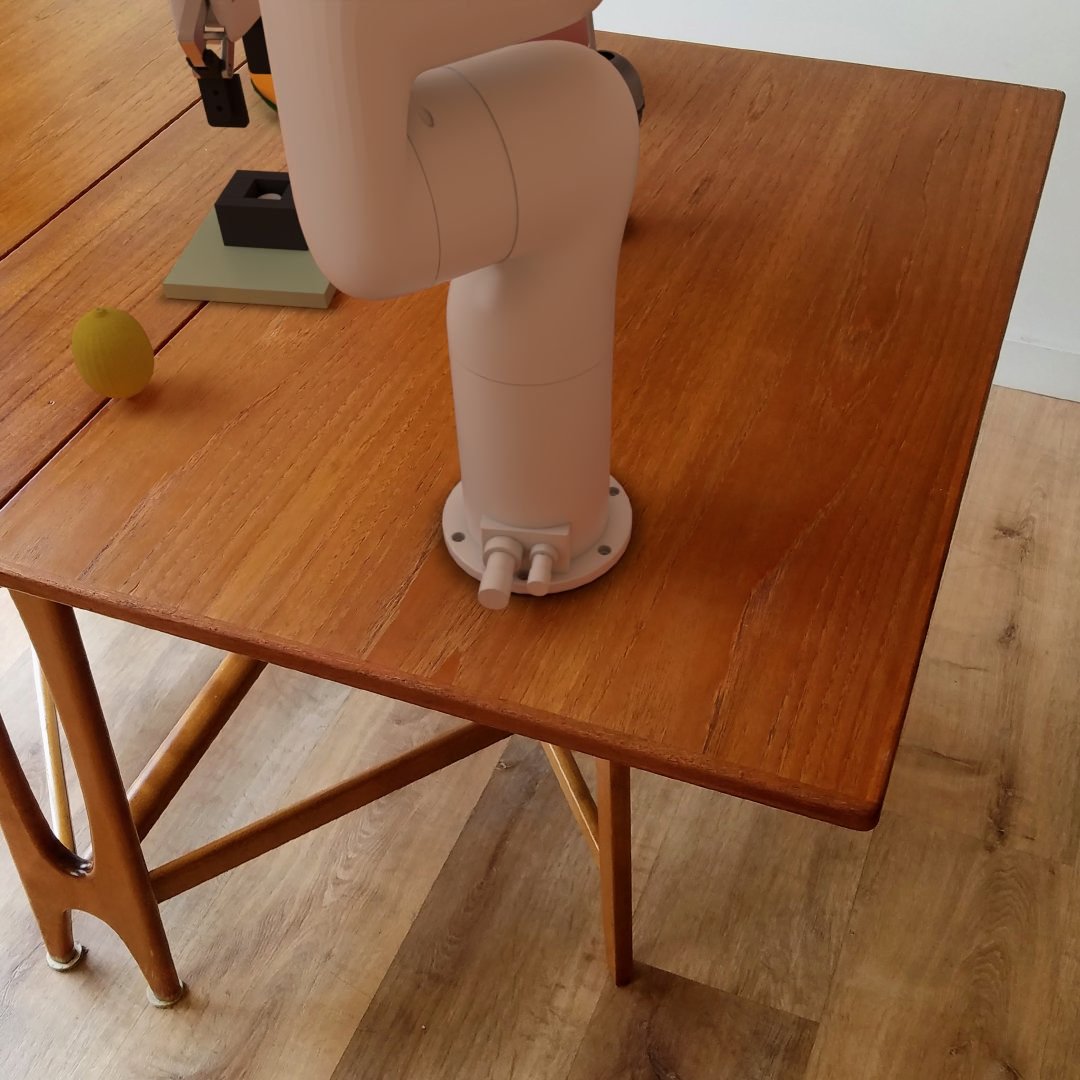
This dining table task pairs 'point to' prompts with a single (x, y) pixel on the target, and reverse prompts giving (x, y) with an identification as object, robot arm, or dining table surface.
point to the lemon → (112, 352)
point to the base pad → (246, 272)
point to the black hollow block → (259, 212)
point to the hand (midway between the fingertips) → (250, 98)
